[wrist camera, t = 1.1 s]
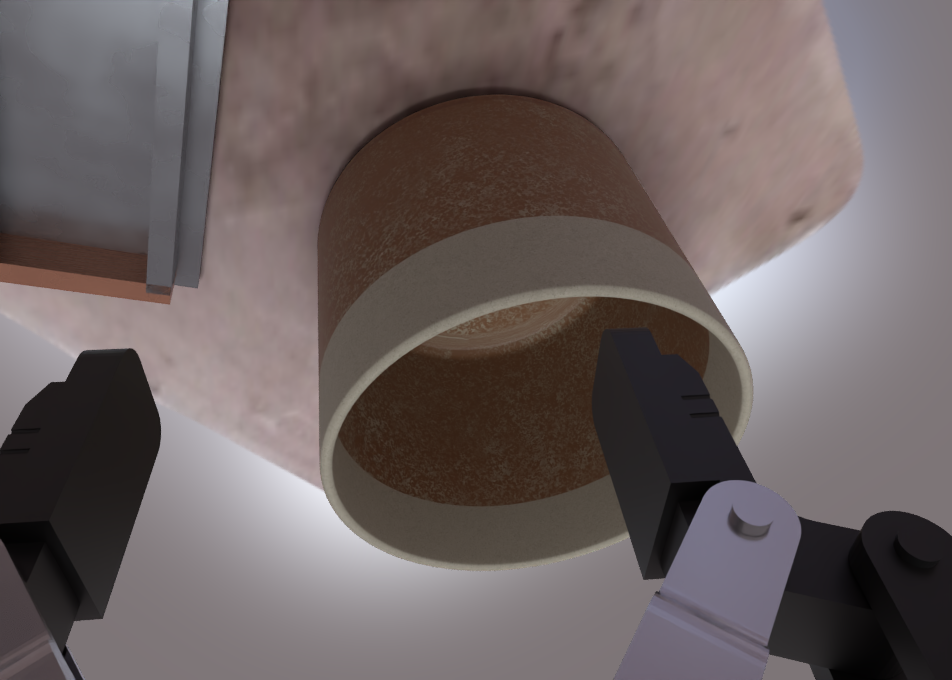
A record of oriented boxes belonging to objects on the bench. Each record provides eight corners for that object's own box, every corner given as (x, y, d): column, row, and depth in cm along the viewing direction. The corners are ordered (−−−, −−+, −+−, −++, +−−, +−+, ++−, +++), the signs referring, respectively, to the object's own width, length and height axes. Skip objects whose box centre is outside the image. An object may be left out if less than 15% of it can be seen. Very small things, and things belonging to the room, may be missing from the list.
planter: (508, 4, 29) (612, 189, 19) (687, 236, 38) (817, 439, 28) (246, 242, 34) (219, 481, 24) (460, 392, 44) (503, 607, 34)
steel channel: (-44, 241, 32) (-68, 281, 30) (-104, -149, 22) (-145, -130, 20) (199, 277, 35) (192, 315, 33) (234, -50, 26) (228, -25, 24)
